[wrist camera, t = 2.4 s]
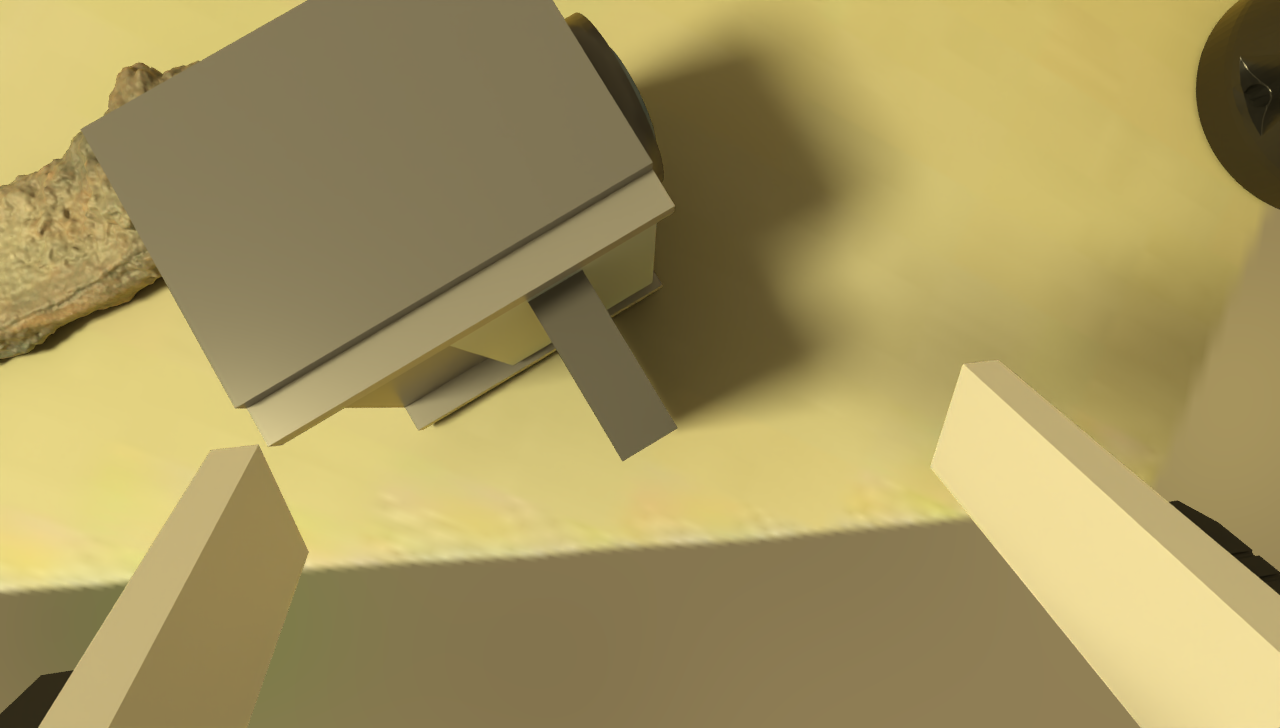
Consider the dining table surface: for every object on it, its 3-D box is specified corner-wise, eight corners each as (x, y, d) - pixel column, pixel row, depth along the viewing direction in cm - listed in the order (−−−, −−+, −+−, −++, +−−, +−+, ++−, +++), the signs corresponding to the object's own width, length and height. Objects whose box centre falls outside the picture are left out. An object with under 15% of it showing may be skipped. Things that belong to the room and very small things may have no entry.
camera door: (644, 270, 35) (645, 199, 23) (717, 390, 34) (757, 381, 22) (506, 353, 35) (433, 325, 23) (577, 474, 34) (542, 512, 22)
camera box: (584, 96, 38) (540, -133, 22) (692, 271, 37) (729, 168, 21) (322, 248, 37) (80, 129, 21) (426, 429, 36) (256, 447, 20)
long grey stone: (-153, 298, 39) (-76, 439, 39) (-281, 289, 33) (-192, 451, 33) (332, 17, 38) (411, 160, 38) (279, -38, 32) (371, 128, 32)
